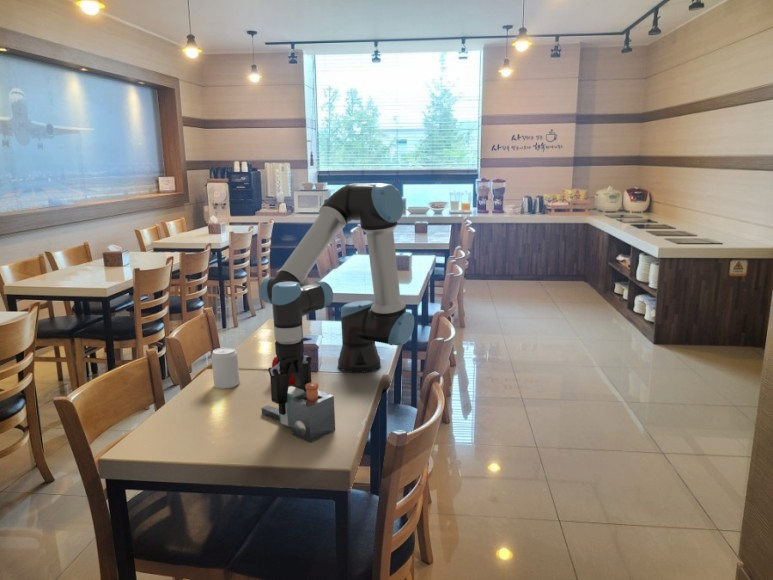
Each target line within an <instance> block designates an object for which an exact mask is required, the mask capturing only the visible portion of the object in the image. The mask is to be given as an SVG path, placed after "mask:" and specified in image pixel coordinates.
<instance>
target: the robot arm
mask: <svg viewBox="0 0 773 580" xmlns="http://www.w3.org/2000/svg"><path fill="white" fill-rule="evenodd" d="M403 211H404V201H403V196H402V195H401V193H400V191H399V189H397V188H396V186H394V185H393V184H390V183H382V182H376V183H375V182H374V183H373V182H371V183H369V182H368V183H366V182H365V183H357V182H356V183H349V184H346V185H344V186H341V187H340V188H339V189H337V190H336V191H335V192H334V193H332V195H330V196H329V197H328V198H327V200H326V201H325V202H324V203H323V204H322V205H321V207H320V208H319V210H318V217H316V219H315V220H314V222H313V223H312V225H311V226H310V228H309V229H308V230H307V232H306V233H305V235H304V236H303V237H302V238H301V240H300V242H299V243H298V244H297V246H296V247H295V249H294V250H293V251H292V252H291V253H290V255H289V256H288V258H287V259H286V260H285V262H284V264H283V265H282V267H281V268H280V269H279V271H278V272H277V273H276V275H275V277H268V278H267V277H266V278H265V279H264V280H262V282H261V283H260V285H259V289H258V293H259V294H258V295H259V297H260V299H261V300H262V301H263V302H265V303H268V304H270V305H271V306H272V316H273V317H272V318H273V333H274V340H275V342H274V348H275V350H274V352H275V355H276V356H277V363H276V365H275V366H274V367H273V368H272V366H271V367H269V368H268V369H267V371H268V373H269V376H270V392H271V393H270V394H271V402H273V403H275V404H277V405H278V409H279V413H280V414H281V423H280V424H282V425H285V426H287V427H290V426H289V425H290V414H289V403H288V402H286V401H287V393H288V387H290V384H289V379H291V374H293V376H294V379H295V382H296V384H295V385H296V388H299V389H302V390H304V391H305V392H306V388H305V385H306V384H308V383H312V369H311V364H312V360H313V359H312V356H310V355H305V354H304V352H305V350H304V349H305V347H304V340H303V339H304V325H303V315H306V314H309V313H312V312H316V311H319V310H323V309H324V308H326V307H329V306H330V305H331V304H332V303H333V299H334V290H333V288H332V287H331V285H330V284H329V283H328V282H326V281H315V282H312V283H308V282H304V281H305V280H306V278H307V276H308V275H309V273H310V272H311V271H312V269H313V267H314V266H315V265H316V263H317V262H318V261H319V259H320V258H321V256H322V254H323V253H324V252H325V250H326V249H327V247H328V246H329V245H330V243H331V242H332V240H333V239H334V237H335V236H336V234H337V233H338V231H340V230H343V229H344V228H345V227H346V225H347V224H348V223H350V222H352V221H359V222H360V228H361V229H360V230H362V231H363V232H365V233H366V241H367V250H368V256H369V263H370V264H369V265H370V274H371V282H372V289H373V291H372V292H373V297H374V299H373V300H374V301H372V300H357V301H352V302H348V303H345V304H344V305H343V306H342V307H341V312H340V313H341V315H340V321H341V322H340V323H341V340H342V341H341V342H342V343H341V344H342V345H341V349H340V353H339V356H338V359H337V364H338V365H337V366H338V368H339V369H340V370H341V371H343V372H347V371H348V373H356V372H359V373H368V372H372V371H375V370H377V369H379V368H380V367H381V363H382V362H381V357H380V355H379V353H378V349H377V345H376V343H380V344H381V343H382V344H385V345H386V344H387V345H390V346H397V347H398V346H404V345H405V344H406V343H408V341H409V340H410V338H411V336H412V335H413V332H414V329H415V328H414V327H415V316H414V314H412V313H411V312H410V311H407V307H406V303H405V302H404V301H403V300H402V299H401V292H400V283H399V273H398V272H399V271H398V265H397V264H398V263H397V253H396V243H395V234H394V230H395V228H396V227H398V221H399V220H400V219H401V218H402V216H403ZM279 369H280V372H279ZM285 374H286V375H285Z"/></svg>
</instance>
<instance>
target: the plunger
mask: <svg viewBox="0 0 773 580" xmlns="http://www.w3.org/2000/svg"><path fill="white" fill-rule="evenodd" d="M305 388H306V394H307V401H310V402H314V401H316V400H318V390H319V383H318V382H311V383H308V384H306V385H305Z"/></svg>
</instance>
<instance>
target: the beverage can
mask: <svg viewBox="0 0 773 580" xmlns="http://www.w3.org/2000/svg"><path fill="white" fill-rule="evenodd" d="M238 358H239V357H238V352H237V350H236V348H235V347H231V346H224V347H218V348H215V349H213V350H212V353H211V364H212V365H211V366H212V376H213V378H212V379H213V385H214V387H215V388H216V389H217V388H218V389H221V390H227V389H232V388H235V387H236V386H238V385H239V384H240V382H241V381H240V371H239V359H238Z"/></svg>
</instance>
